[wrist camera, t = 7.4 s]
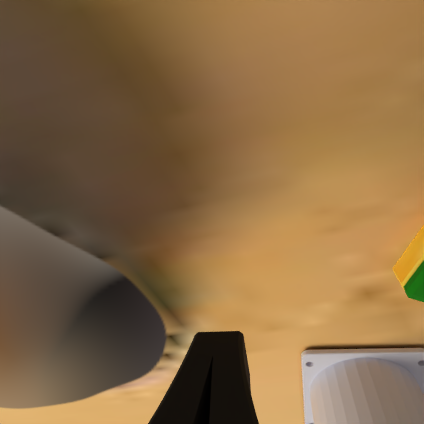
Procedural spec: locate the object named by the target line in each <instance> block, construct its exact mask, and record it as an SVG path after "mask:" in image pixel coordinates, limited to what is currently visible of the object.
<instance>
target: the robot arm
mask: <svg viewBox="0 0 424 424" xmlns="http://www.w3.org/2000/svg"><path fill="white" fill-rule="evenodd" d="M301 363H302V382H303V401H304V420H305V424H424V348H379V349H324V350H305V351H303V352H302V353H301ZM148 424H259V423H258V419H257V416H256V412H255V409H254V405H253V401H252V397H251V390H250V373H249V367H248V361H247V355H246V349H245V343H244V336H243V334H242V333H241V332H239V331H226V332H198V333H197V334H196V335H195V336H194V339H193V341H192V343H191V345H190V348H189V350H188V352H187V354H186V356H185V358H184V360H183V362H182V364H181V366H180V368H179V370H178V372H177V374H176V376H175V378H174V380H173V382H172V383H171V385H170V387H169V389H168V391H167V392H166V394H165V396H164V398H163V400H162V401H161V403H160V405H159V407H158V408H157V410H156V412H155V413H154V415H153V417H152V418H151V420H150V421H149V423H148Z"/></svg>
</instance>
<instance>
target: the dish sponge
mask: <svg viewBox="0 0 424 424" xmlns="http://www.w3.org/2000/svg"><path fill="white" fill-rule="evenodd" d="M393 271H394V273H395V276H396V277H397V279H398V281H399V282H400V284H401V286H402V287H403V289H404V290H405V292H406V294H407V296H408V298H412V299H415V300H418V301H422V302H424V225H423V227H422V228H421V229H420V231H419V232H418V234H417V235H416V236H415V238H414V239H413V241H412V242H411V243H410V245H409V246H408V248H407V249H406V250H405V252H404V253H403V255H402V256H401V257H400V259H399V260H398V262H397V263H396V264H395V266H394V267H393Z"/></svg>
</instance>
